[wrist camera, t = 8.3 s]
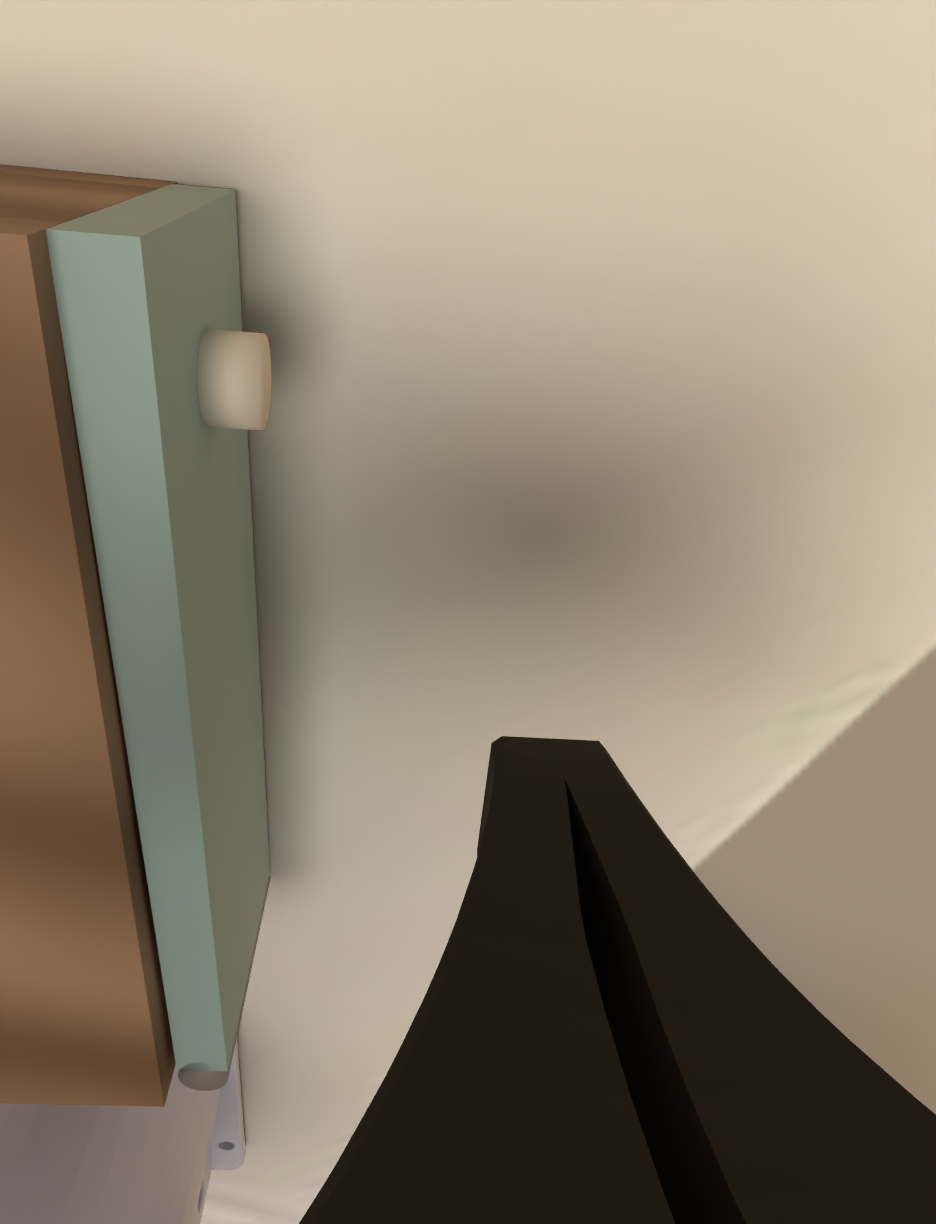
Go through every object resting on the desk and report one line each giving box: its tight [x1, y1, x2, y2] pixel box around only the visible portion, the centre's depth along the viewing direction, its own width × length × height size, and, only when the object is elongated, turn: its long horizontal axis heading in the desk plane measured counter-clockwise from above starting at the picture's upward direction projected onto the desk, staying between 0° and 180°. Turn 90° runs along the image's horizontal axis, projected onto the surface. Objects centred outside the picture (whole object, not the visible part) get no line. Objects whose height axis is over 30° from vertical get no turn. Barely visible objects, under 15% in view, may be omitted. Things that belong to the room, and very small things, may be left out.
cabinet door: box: [46, 184, 272, 1091], centre depth 16 cm, size 16×2×5 cm, turn 175°
